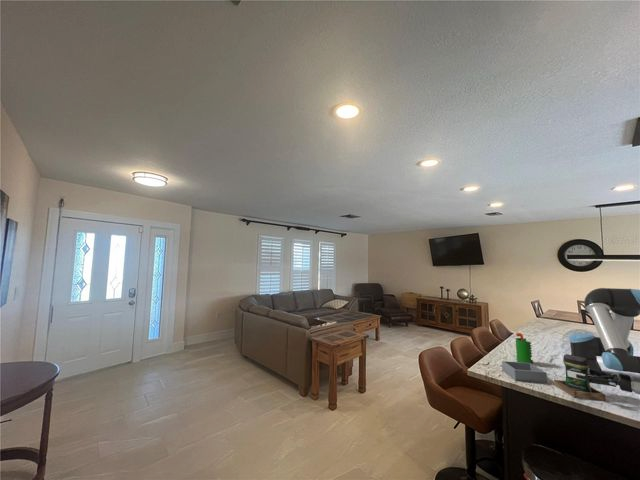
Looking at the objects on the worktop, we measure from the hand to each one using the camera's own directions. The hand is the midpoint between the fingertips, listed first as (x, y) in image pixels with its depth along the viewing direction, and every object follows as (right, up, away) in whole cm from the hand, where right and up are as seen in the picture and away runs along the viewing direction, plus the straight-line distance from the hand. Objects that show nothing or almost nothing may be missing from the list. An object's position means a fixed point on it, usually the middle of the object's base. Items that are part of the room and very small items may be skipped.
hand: (570, 370), depth 137 cm
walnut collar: (+1, -10, -3) cm, 11 cm away
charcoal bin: (-11, -13, +17) cm, 24 cm away
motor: (+9, -16, +42) cm, 46 cm away
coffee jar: (+1, -10, -3) cm, 11 cm away
